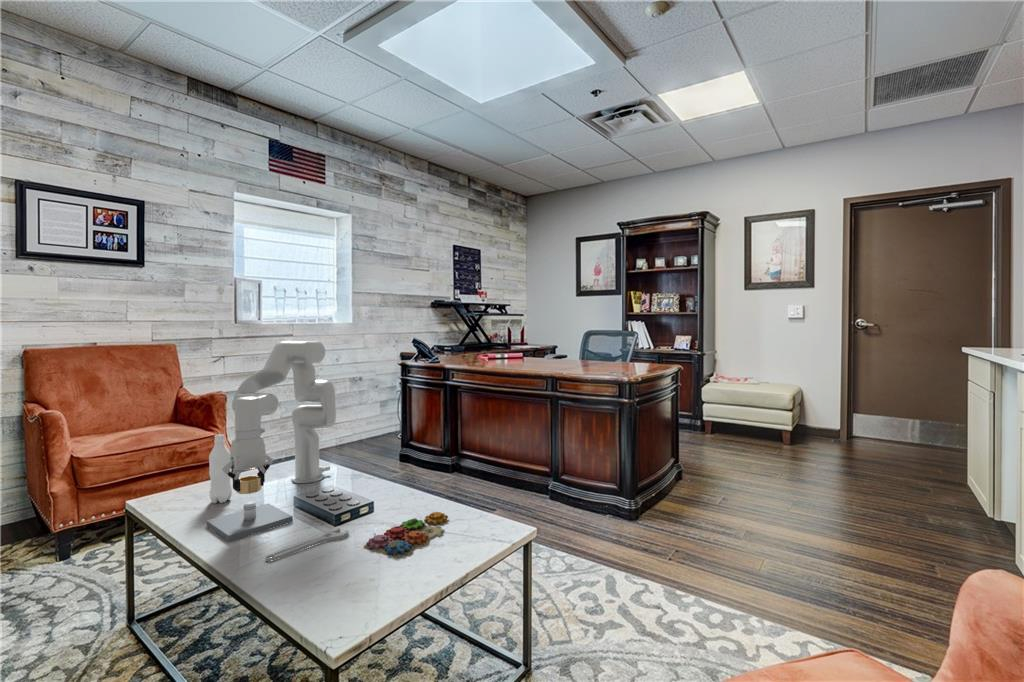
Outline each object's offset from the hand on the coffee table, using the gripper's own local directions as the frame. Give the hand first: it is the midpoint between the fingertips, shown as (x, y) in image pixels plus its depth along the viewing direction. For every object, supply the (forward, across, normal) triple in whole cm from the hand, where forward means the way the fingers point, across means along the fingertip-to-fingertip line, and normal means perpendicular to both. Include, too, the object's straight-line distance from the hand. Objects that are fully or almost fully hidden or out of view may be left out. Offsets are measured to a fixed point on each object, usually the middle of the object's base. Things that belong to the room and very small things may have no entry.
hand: (249, 487), depth 167 cm
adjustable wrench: (+13, -5, +29) cm, 32 cm away
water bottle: (+13, -2, -30) cm, 33 cm away
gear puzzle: (+13, -31, +48) cm, 59 cm away
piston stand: (+12, 0, 0) cm, 12 cm away
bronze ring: (+1, 0, 0) cm, 1 cm away
